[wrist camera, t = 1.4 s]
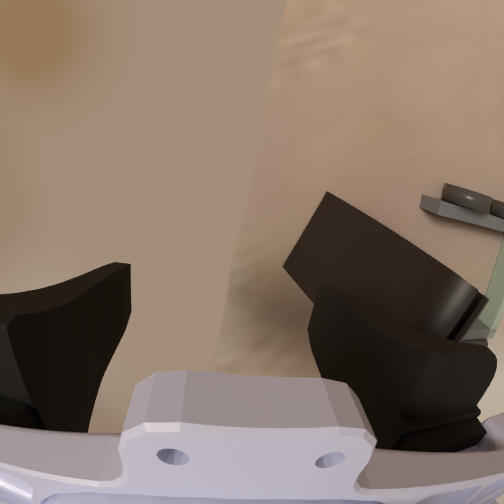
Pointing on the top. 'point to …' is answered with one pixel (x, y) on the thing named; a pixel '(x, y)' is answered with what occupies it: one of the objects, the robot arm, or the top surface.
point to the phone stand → (382, 272)
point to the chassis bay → (500, 288)
